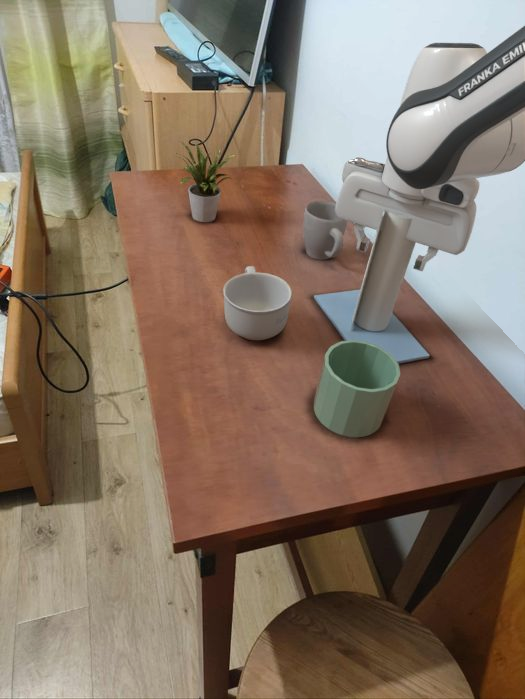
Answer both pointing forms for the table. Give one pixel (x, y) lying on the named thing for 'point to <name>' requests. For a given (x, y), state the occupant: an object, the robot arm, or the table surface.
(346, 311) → the mat
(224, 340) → the table surface
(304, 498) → the table surface
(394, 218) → the paper towel roll
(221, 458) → the table surface
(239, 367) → the table surface
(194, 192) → the house plant
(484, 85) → the robot arm
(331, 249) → the mug
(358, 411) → the sage green pencil cup
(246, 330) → the teacup
